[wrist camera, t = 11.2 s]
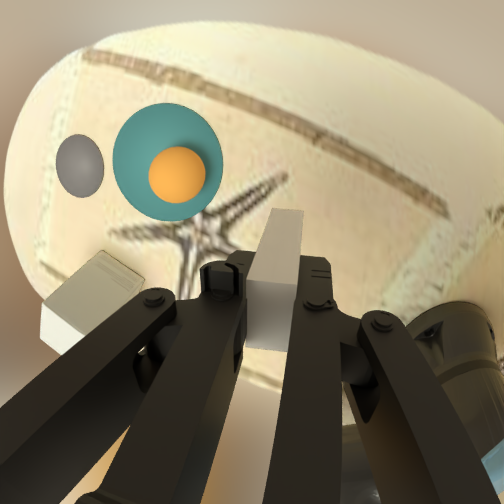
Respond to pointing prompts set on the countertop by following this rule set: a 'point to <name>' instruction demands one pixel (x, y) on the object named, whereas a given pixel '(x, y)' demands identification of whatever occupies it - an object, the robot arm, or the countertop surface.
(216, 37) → the countertop surface
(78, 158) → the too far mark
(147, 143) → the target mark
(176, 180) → the ball
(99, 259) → the supplement box
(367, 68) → the countertop surface
